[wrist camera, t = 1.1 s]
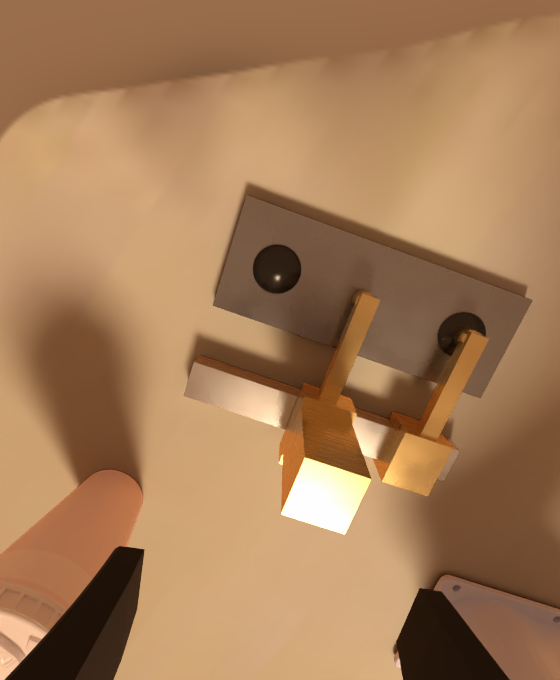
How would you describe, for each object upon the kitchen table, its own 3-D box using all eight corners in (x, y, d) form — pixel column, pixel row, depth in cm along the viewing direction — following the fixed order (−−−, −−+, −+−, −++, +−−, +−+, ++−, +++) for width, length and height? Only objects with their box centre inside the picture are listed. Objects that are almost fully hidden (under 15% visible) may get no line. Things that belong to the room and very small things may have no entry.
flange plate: (525, 298, 19) (533, 300, 18) (474, 393, 20) (481, 398, 20) (247, 196, 18) (246, 194, 17) (214, 303, 19) (212, 305, 19)
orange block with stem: (390, 299, 18) (443, 329, 12) (323, 453, 21) (339, 546, 14) (341, 281, 18) (369, 302, 12) (280, 439, 21) (276, 526, 14)
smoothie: (164, 453, 22) (-38, 797, 8) (165, 543, 24) (-2, 952, 10) (56, 445, 22) (-321, 775, 8) (65, 535, 24) (-239, 933, 10)
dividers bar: (503, 339, 20) (532, 352, 17) (431, 475, 22) (448, 503, 19) (233, 242, 19) (226, 242, 16) (187, 395, 21) (174, 414, 19)
